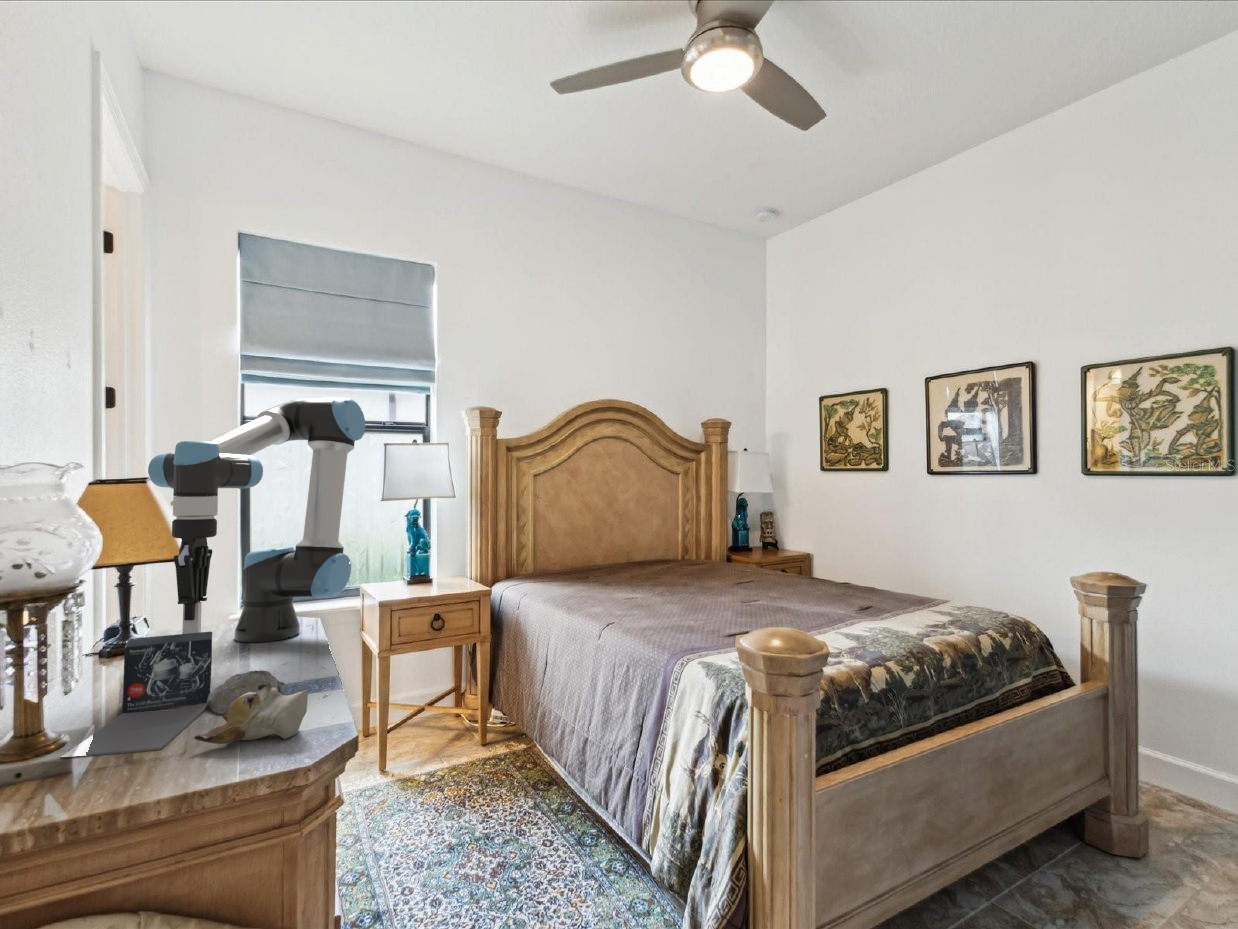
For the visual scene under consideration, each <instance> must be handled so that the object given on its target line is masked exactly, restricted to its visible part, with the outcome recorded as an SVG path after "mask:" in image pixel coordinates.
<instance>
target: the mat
mask: <svg viewBox="0 0 1238 929" xmlns="http://www.w3.org/2000/svg"><path fill="white" fill-rule="evenodd" d="M207 709H208V707H206V706H203V707H191V708H190V707H188V708H176V709H174V708H173V709H163V710H162V709H159V710H150V711H143V712H133V713H122V712H121V714H119V715H118V716H116V717H115V718H114V719H113V720H111V721H109V722H108V723H107V724H105V725H104V726H102V727H101V728H100V729H98V730H97V731H94V733H92V734H93V740H92V742H91V744H90V747H89V750H88V752H86V755H87V756H86V757H94V756H107V755H116V754H117V755H118V754H127V753H139V752H150V751H151V752H153V751H161V750H163V749H164V748H165V747H166V746H168V744H170V743H171V742H172V741H173V740H174V739H176V737H177V736H179V735H180V734H181V733H182V732H183V731H184V730H185V729H186V728H188V726H190V725H191V724H192V723H193V722H194V721H195V720H196V719H197V718H198V717H200V716H201V715H202V714H203V713H204V712H205V711H206V710H207Z"/></svg>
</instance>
